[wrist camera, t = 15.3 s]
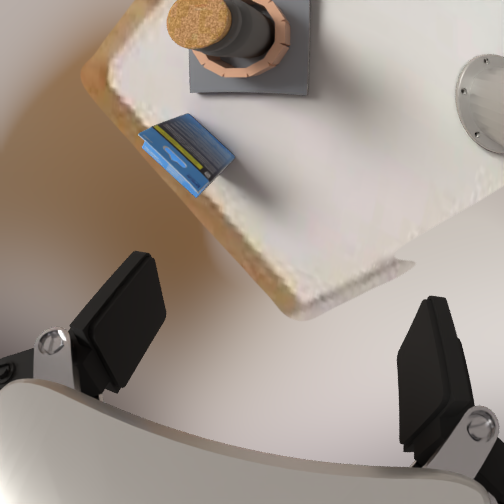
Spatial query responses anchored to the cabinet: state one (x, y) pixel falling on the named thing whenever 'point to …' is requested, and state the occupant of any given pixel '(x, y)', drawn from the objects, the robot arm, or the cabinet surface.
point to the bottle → (220, 28)
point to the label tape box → (187, 152)
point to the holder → (262, 56)
